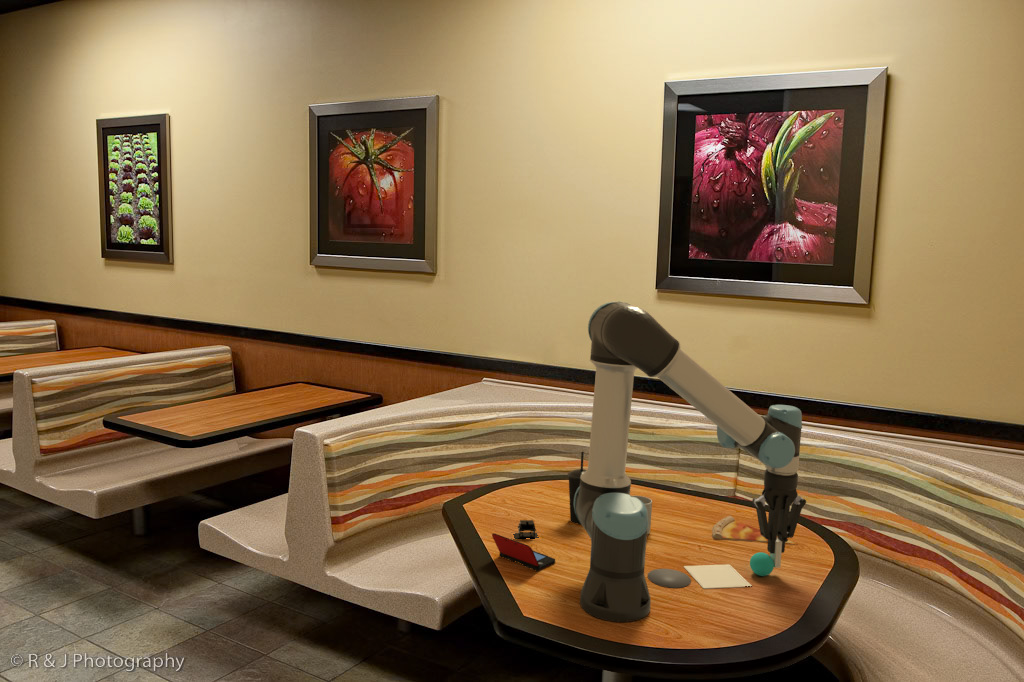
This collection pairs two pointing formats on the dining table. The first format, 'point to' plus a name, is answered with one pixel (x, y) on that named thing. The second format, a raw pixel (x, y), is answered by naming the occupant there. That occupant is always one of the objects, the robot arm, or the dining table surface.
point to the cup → (649, 509)
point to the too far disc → (669, 578)
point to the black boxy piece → (526, 526)
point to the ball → (761, 564)
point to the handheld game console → (521, 553)
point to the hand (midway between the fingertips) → (774, 565)
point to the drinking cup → (574, 488)
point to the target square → (717, 576)
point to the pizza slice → (737, 531)
